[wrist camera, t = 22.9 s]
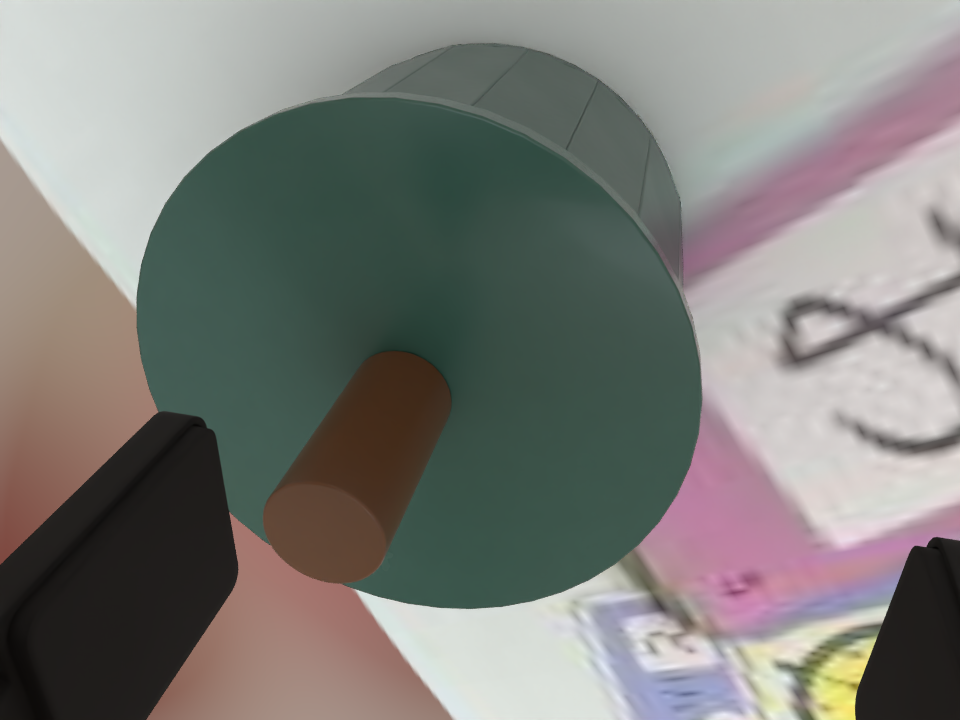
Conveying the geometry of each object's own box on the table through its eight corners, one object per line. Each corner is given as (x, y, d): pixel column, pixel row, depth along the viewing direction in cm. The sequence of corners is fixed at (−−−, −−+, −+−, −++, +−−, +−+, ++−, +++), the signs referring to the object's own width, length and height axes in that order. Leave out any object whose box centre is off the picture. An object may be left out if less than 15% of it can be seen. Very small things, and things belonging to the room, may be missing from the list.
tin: (297, 31, 26) (120, 93, 18) (714, 56, 24) (728, 140, 16) (324, 376, 32) (203, 537, 24) (657, 421, 30) (646, 616, 22)
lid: (114, 65, 18) (-117, 134, 13) (752, 109, 16) (784, 216, 11) (202, 535, 25) (73, 708, 20) (660, 616, 23) (652, 835, 17)
